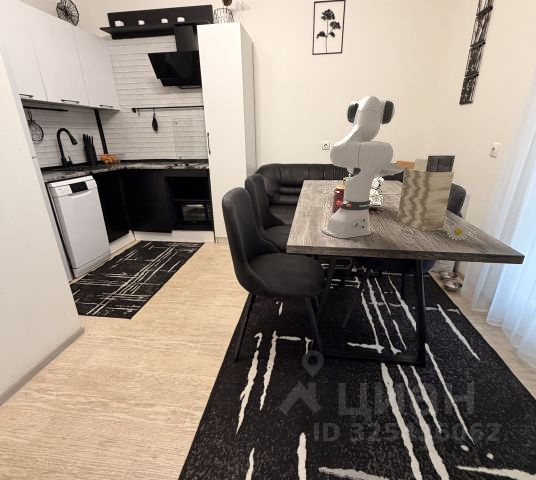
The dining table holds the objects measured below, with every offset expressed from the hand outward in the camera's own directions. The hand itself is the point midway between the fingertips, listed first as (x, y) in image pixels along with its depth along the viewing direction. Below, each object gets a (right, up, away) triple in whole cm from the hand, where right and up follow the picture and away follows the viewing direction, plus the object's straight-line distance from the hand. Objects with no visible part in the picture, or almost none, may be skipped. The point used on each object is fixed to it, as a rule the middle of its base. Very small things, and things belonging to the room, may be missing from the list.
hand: (394, 163), depth 152 cm
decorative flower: (+9, -40, -31) cm, 52 cm away
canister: (-24, -25, +12) cm, 37 cm away
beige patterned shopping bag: (+5, -34, -15) cm, 38 cm away
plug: (+3, -7, -15) cm, 17 cm away
